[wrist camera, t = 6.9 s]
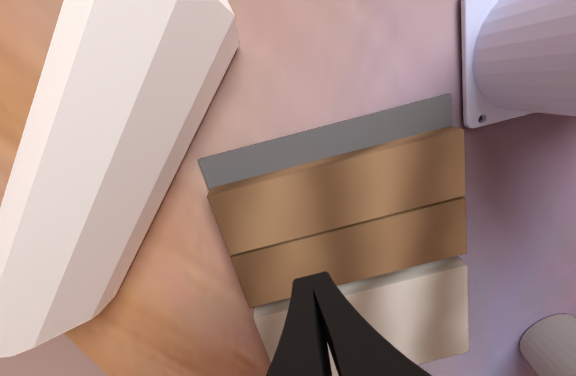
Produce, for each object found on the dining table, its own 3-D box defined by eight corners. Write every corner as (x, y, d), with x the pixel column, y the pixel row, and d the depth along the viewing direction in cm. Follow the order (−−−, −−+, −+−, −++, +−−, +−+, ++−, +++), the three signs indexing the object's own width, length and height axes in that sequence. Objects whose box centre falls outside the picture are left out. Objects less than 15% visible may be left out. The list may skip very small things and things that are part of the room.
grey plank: (454, 253, 22) (467, 265, 20) (457, 336, 25) (468, 351, 23) (254, 303, 22) (253, 318, 21) (282, 379, 25) (283, 396, 24)
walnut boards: (449, 126, 18) (464, 129, 17) (453, 242, 21) (466, 253, 20) (211, 187, 18) (207, 196, 17) (250, 293, 22) (249, 307, 20)
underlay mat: (447, 93, 18) (450, 93, 18) (457, 333, 25) (459, 336, 25) (198, 158, 18) (197, 159, 18) (280, 376, 25) (280, 380, 25)
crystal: (107, 364, 19) (294, 9, 12) (-59, 392, 14) (110, -165, 8) (103, 279, 24) (234, -1, 18) (-18, 279, 19) (102, -109, 13)
